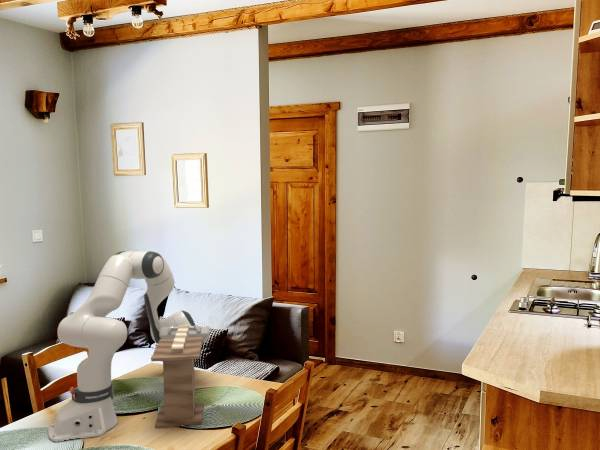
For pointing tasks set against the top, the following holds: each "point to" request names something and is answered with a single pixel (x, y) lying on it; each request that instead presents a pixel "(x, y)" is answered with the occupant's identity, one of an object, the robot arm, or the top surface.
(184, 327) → the birch slat
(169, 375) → the walnut stand
